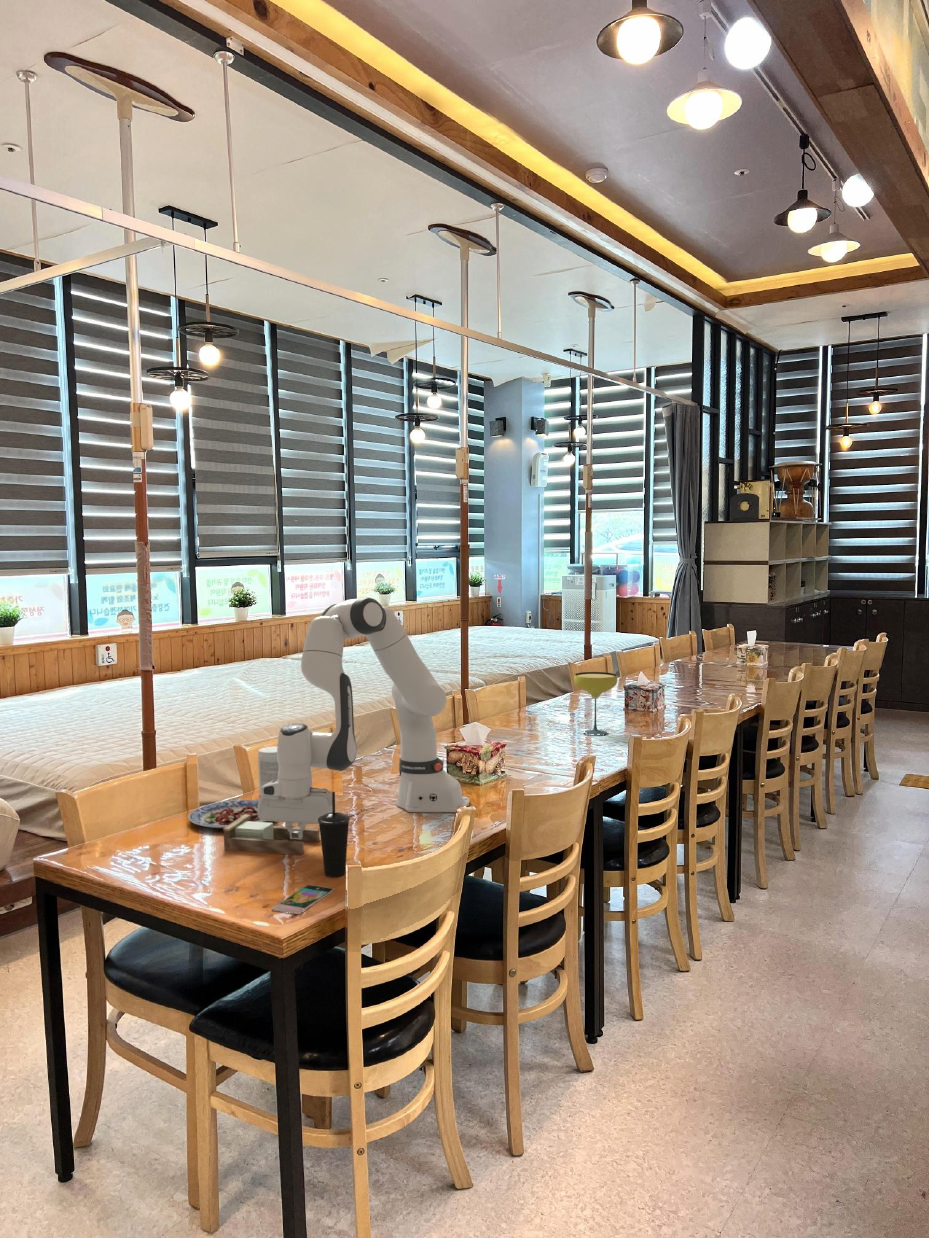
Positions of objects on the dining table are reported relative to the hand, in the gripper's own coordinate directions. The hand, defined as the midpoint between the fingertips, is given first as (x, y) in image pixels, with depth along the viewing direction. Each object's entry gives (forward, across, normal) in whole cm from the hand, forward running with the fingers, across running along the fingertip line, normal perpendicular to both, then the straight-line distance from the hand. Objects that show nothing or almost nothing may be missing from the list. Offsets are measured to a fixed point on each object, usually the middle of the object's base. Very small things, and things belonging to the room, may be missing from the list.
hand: (296, 838), depth 226 cm
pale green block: (+2, +12, 0) cm, 12 cm away
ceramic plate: (+2, +27, -18) cm, 32 cm away
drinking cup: (+2, -17, +16) cm, 24 cm away
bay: (+2, +6, 0) cm, 6 cm away
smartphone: (+3, -16, +32) cm, 36 cm away
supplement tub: (+2, +27, -44) cm, 52 cm away
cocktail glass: (+3, -66, -158) cm, 171 cm away
